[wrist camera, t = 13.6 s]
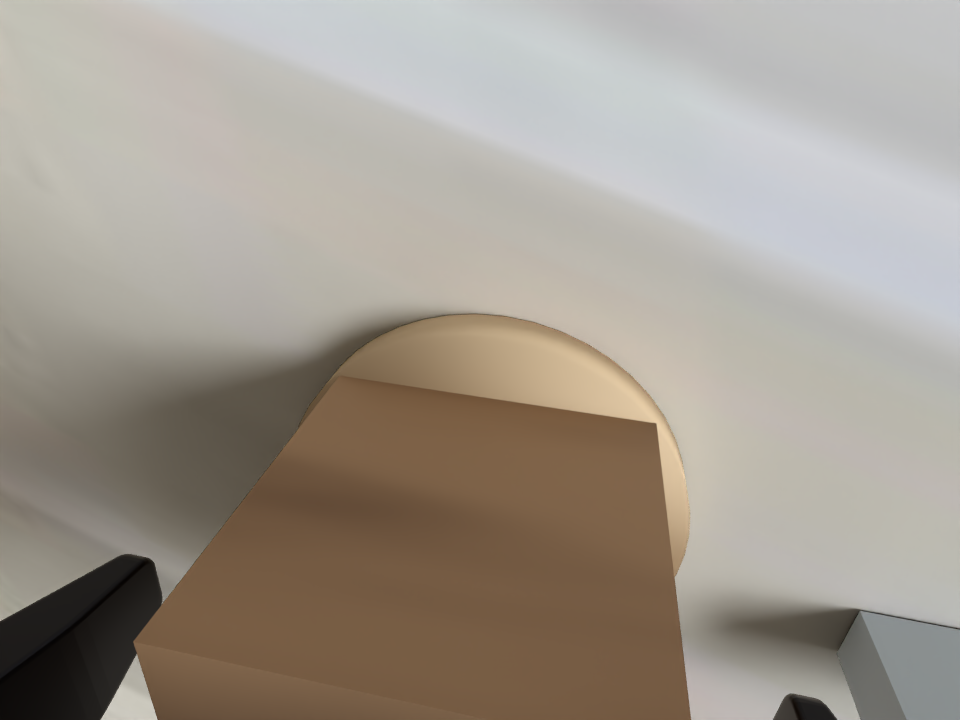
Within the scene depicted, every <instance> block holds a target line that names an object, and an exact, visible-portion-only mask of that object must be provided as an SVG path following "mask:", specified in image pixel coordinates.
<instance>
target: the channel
mask: <svg viewBox="0 0 960 720" xmlns="http://www.w3.org/2000/svg"><path fill="white" fill-rule="evenodd" d="M837 655H838V658H839V661H840V663H841V666H842V669H843V672H844V674H845V677H846V680H847V683H848V686H849V688H850V691H851V694H852V697H853V699H854V702H855V705H856V708H857V710H858V713H859V716H860V719H861V720H960V630H958V629H953V628H948V627H942V626H937V625H932V624H927V623H921V622H916V621H911V620H906V619H901V618H895V617H890V616H885V615H880V614H874V613H869V612H864V611H860V612H859V613H858V615H857V617H856V619H855V621H854V623H853V625H852V626H851V628H850V630H849V632H848V634H847V636H846V637H845V639H844V641H843V643H842V645H841V647H840V648H839V650H838V652H837Z"/></svg>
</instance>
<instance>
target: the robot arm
mask: <svg viewBox="0 0 960 720" xmlns="http://www.w3.org/2000/svg"><path fill="white" fill-rule="evenodd" d="M161 604H162V592H161V588H160V584H159V579H158V575H157V571H156V567H155V564H154V562H153V561H152V560H151V559H149V558H146V557H141V556H137V555H132V554H125V555H121V556H119V557H117V558H115V559H113V560H111V561H109V562H107V563H106V564H104V565H102V566H100V567H98V568H96V569H95V570H93V571H91V572H89V573H87V574H86V575H84V576H82V577H80V578H78V579H76V580H75V581H73V582H71V583H69V584H67V585H66V586H64V587H62V588H60V589H58V590H56V591H55V592H53V593H51V594H49V595H47V596H46V597H44V598H42V599H40V600H38V601H36V602H35V603H33V604H31V605H29V606H27V607H26V608H24V609H22V610H20V611H18V612H16V613H15V614H13V615H11V616H9V617H7V618H5V619H4V620H2V621H0V720H101V718H102V716H103V715H104V713H105V711H106V710H107V708H108V706H109V704H110V703H111V701H112V699H113V697H114V695H115V694H116V692H117V690H118V688H119V686H120V684H121V682H122V680H123V679H124V677H125V675H126V673H127V671H128V669H129V667H130V666H131V664H132V662H133V660H134V658H135V656H136V654H137V652H136V649H135V646H134V643H133V641H134V640H135V639H136V637H137V636H138V635H139V634H140V632H141V631H142V630H143V628H144V627H145V626H146V625H147V623H148V622H149V621H150V619H151V618H152V617H153V616H154V614H155V613H156V612H157V610H158V609H159V608H160V607H161ZM773 720H837V719H836V717H835V716H834V715H833V713H832V712H831V711H830V709H829V708H828V707H827V706H826V705H825V704H824V703H823V702H822V701H820V700H818V699H816V698H812V697H807V696H802V695H797V694H788V695H786V696H785V698H784V699H783V701H782V703H781V705H780V707H779V709H778V711H777V713H776V715H775V717H774V719H773Z"/></svg>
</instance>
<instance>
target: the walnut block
mask: <svg viewBox="0 0 960 720" xmlns="http://www.w3.org/2000/svg"><path fill="white" fill-rule="evenodd" d="M133 643H134V646H135V649H136V652H137V655H138V659H139V662H140V665H141V668H142V671H143V674H144V678H145V681H146V684H147V687H148V690H149V693H150V697H151V700H152V703H153V706H154V709H155V712H156V716H157V719H158V720H691V716H690V707H689V699H688V690H687V681H686V673H685V664H684V656H683V647H682V639H681V630H680V621H679V613H678V604H677V596H676V587H675V578H674V570H673V561H672V553H671V544H670V535H669V527H668V518H667V510H666V501H665V492H664V484H663V475H662V467H661V458H660V449H659V441H658V432H657V424H656V423H650V422H644V421H637V420H631V419H624V418H617V417H611V416H604V415H597V414H591V413H584V412H578V411H571V410H564V409H558V408H551V407H544V406H538V405H531V404H525V403H518V402H511V401H505V400H498V399H491V398H485V397H478V396H472V395H465V394H458V393H452V392H445V391H438V390H432V389H425V388H419V387H412V386H405V385H399V384H392V383H385V382H379V381H372V380H366V379H359V378H352V377H346V376H339V377H338V379H337V380H336V381H335V382H334V384H333V385H332V386H331V388H330V389H329V390H328V391H327V393H326V394H325V395H324V397H323V398H322V399H321V400H320V402H319V403H318V404H317V406H316V407H315V408H314V409H313V411H312V412H311V413H310V415H309V416H308V417H307V418H306V420H305V421H304V422H303V424H302V425H301V426H300V428H299V429H298V430H297V431H296V433H295V434H294V435H293V437H292V438H291V439H290V440H289V442H288V443H287V444H286V446H285V447H284V448H283V449H282V451H281V452H280V453H279V455H278V456H277V457H276V458H275V460H274V461H273V462H272V464H271V465H270V466H269V467H268V469H267V470H266V471H265V473H264V474H263V475H262V476H261V478H260V479H259V480H258V482H257V483H256V484H255V485H254V487H253V488H252V489H251V491H250V492H249V493H248V494H247V496H246V497H245V498H244V500H243V501H242V502H241V504H240V505H239V506H238V507H237V509H236V510H235V511H234V513H233V514H232V515H231V516H230V518H229V519H228V520H227V522H226V523H225V524H224V525H223V527H222V528H221V529H220V531H219V532H218V533H217V534H216V536H215V537H214V538H213V540H212V541H211V542H210V543H209V545H208V546H207V547H206V549H205V550H204V551H203V552H202V554H201V555H200V556H199V558H198V559H197V560H196V561H195V563H194V564H193V565H192V567H191V568H190V569H189V570H188V572H187V573H186V574H185V576H184V577H183V578H182V580H181V581H180V582H179V583H178V585H177V586H176V587H175V589H174V590H173V591H172V592H171V594H170V595H169V596H168V598H167V599H166V600H165V601H164V603H163V604H162V605H161V607H160V608H159V609H158V610H157V612H156V613H155V614H154V616H153V617H152V618H151V619H150V621H149V622H148V623H147V625H146V626H145V627H144V628H143V630H142V631H141V632H140V634H139V635H138V636H137V637H136V639H135V640H134V641H133Z"/></svg>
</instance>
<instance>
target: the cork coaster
mask: <svg viewBox="0 0 960 720" xmlns="http://www.w3.org/2000/svg"><path fill="white" fill-rule="evenodd" d="M339 376H346V377H352V378H359V379H366V380H372V381H379V382H385V383H392V384H399V385H405V386H412V387H419V388H425V389H432V390H438V391H445V392H452V393H458V394H465V395H472V396H478V397H485V398H491V399H498V400H505V401H511V402H518V403H525V404H531V405H538V406H544V407H551V408H558V409H564V410H571V411H578V412H584V413H591V414H597V415H604V416H611V417H617V418H624V419H631V420H637V421H644V422H650V423H656V424H657V432H658V441H659V449H660V458H661V467H662V475H663V484H664V492H665V501H666V510H667V518H668V527H669V535H670V544H671V553H672V561H673V570H674V577H675V576H676V574H677V572H678V569H679V567H680V565H681V562H682V560H683V557H684V555H685V551H686V546H687V542H688V538H689V527H690V508H689V501H688V494H687V487H686V481H685V475H684V469H683V463H682V458H681V455H680V452H679V449H678V445H677V442H676V439H675V437H674V435H673V433H672V431H671V429H670V426H669V424H668V422H667V420H666V418H665V416H664V415H663V414H662V412H661V411H660V409H659V408H658V406H657V405H656V403H655V402H654V401H653V399H652V398H651V396H650V395H649V394H648V393H647V392H646V391H645V390H644V389H643V388H642V386H641V385H640V384H639V383H638V382H637V381H636V380H635V379H634V378H633V377H632V376H631V375H630V374H629V373H627V372H626V371H625V370H624V369H623V368H621V367H620V366H619V365H618V364H616V363H615V362H614V361H613V360H612V359H610V358H609V357H607V356H605V355H604V354H602V353H601V352H599V351H598V350H596V349H594V348H593V347H591V346H590V345H588V344H586V343H584V342H582V341H580V340H578V339H576V338H574V337H571V336H569V335H567V334H565V333H563V332H561V331H558V330H555V329H552V328H549V327H546V326H543V325H540V324H537V323H534V322H529V321H524V320H519V319H515V318H510V317H505V316H493V315H481V314H468V315H448V316H442V317H436V318H430V319H424V320H420V321H417V322H414V323H410V324H407V325H404V326H401V327H398V328H396V329H393V330H391V331H389V332H387V333H385V334H383V335H381V336H379V337H376V338H375V339H373V340H372V341H370V342H369V343H367V344H366V345H364V346H363V347H361V348H360V349H358V350H357V351H356V352H355V353H354V354H353V355H352V356H350V357H349V358H348V359H347V360H346V361H345V362H344V363H343V364H342V365H341V366H340V367H339V368H338V370H337V371H336V372H335V373H334V375H333V376H332V377H331V379H330V380H329V381H328V382H327V384H326V385H325V386H324V387H323V389H322V390H321V391H320V392H319V394H318V395H317V396H316V397H315V399H314V400H313V401H312V403H311V404H310V405H309V407H308V409H307V411H306V413H305V414H304V416H303V418H302V420H301V422H300V424H299V427H298V429H299V428H300V426H301V425H302V424H303V422H304V421H305V420H306V418H307V417H308V416H309V415H310V413H311V412H312V411H313V409H314V408H315V407H316V406H317V404H318V403H319V402H320V400H321V399H322V398H323V397H324V395H325V394H326V393H327V391H328V390H329V389H330V388H331V386H332V385H333V384H334V382H335V381H336V380H337V379H338V377H339Z"/></svg>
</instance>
